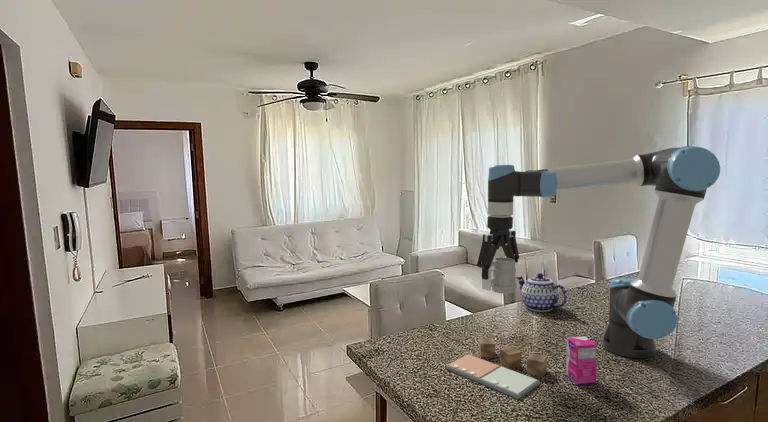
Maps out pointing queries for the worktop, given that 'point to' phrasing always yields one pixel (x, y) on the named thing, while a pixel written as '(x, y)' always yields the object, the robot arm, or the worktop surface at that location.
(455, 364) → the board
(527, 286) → the teapot
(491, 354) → the walnut block
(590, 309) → the worktop surface
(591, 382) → the supplement box
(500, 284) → the mug
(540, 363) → the walnut block
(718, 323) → the worktop surface
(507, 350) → the walnut block
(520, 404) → the worktop surface
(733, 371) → the worktop surface
